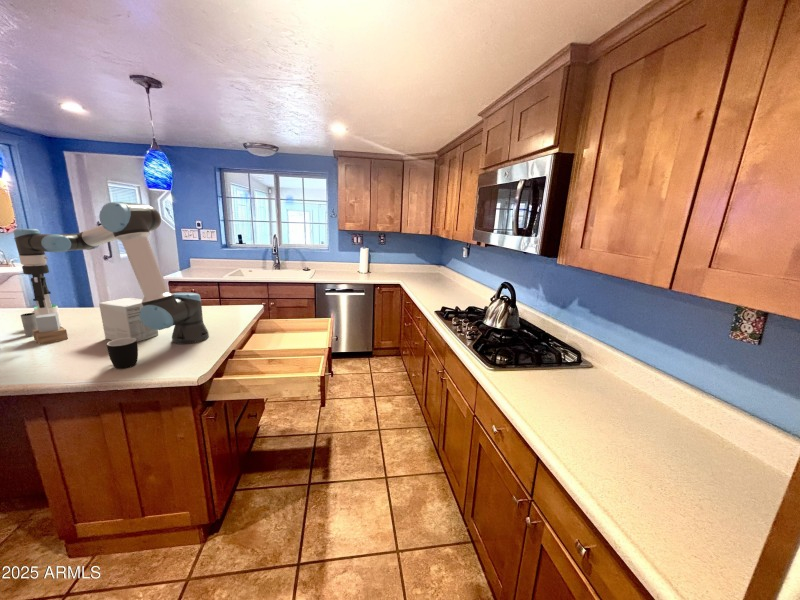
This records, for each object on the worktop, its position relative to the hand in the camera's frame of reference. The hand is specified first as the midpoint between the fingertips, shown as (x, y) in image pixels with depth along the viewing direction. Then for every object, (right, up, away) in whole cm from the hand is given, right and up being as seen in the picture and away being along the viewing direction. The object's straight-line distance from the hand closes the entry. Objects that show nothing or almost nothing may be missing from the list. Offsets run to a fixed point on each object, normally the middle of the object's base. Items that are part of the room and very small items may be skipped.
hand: (46, 311), depth 143 cm
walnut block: (-1, -14, +3) cm, 14 cm away
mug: (+50, -21, -17) cm, 57 cm away
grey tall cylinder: (-15, -12, +8) cm, 21 cm away
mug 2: (-21, -9, +18) cm, 29 cm away
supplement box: (+30, -13, +11) cm, 35 cm away
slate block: (-1, -9, +3) cm, 9 cm away
